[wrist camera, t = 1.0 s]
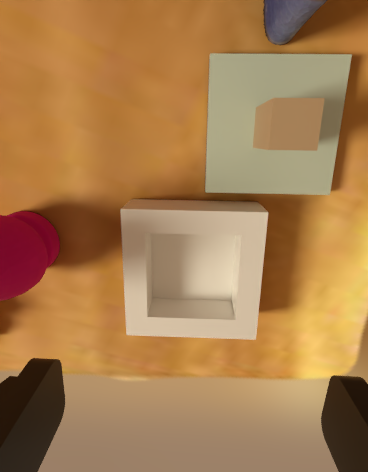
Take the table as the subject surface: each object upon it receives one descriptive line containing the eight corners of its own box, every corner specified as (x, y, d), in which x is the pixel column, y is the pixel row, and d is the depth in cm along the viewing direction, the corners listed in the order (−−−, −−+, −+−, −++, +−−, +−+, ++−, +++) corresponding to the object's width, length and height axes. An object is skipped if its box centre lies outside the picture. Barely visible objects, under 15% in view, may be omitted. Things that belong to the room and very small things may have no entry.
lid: (209, 56, 25) (214, 26, 18) (345, 57, 25) (401, 26, 18) (205, 190, 28) (207, 206, 22) (325, 193, 28) (365, 209, 21)
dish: (131, 199, 29) (120, 209, 25) (257, 201, 29) (268, 212, 25) (135, 309, 33) (126, 335, 29) (247, 313, 32) (255, 339, 28)
